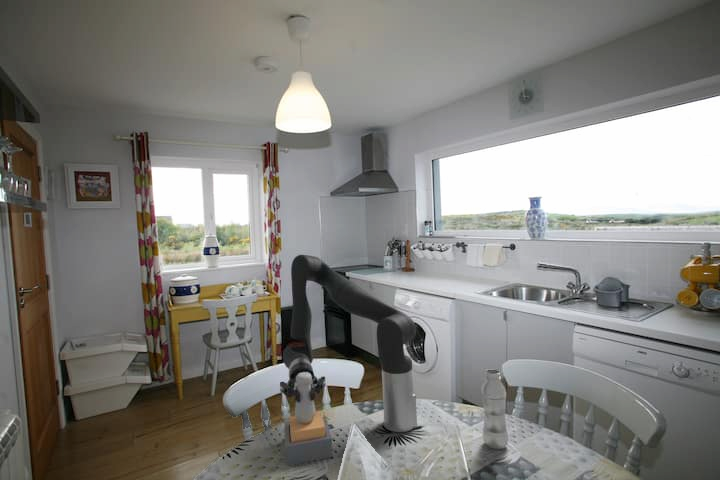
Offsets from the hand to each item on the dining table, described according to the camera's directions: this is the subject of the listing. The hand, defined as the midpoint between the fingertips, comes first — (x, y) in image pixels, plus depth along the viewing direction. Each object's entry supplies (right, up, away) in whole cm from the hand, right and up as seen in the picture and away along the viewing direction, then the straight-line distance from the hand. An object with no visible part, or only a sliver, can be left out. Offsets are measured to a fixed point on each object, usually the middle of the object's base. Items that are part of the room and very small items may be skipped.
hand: (305, 398), depth 99 cm
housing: (0, -15, +3) cm, 15 cm away
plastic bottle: (+51, -13, 0) cm, 53 cm away
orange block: (0, -11, +3) cm, 11 cm away
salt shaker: (0, -8, +3) cm, 8 cm away
